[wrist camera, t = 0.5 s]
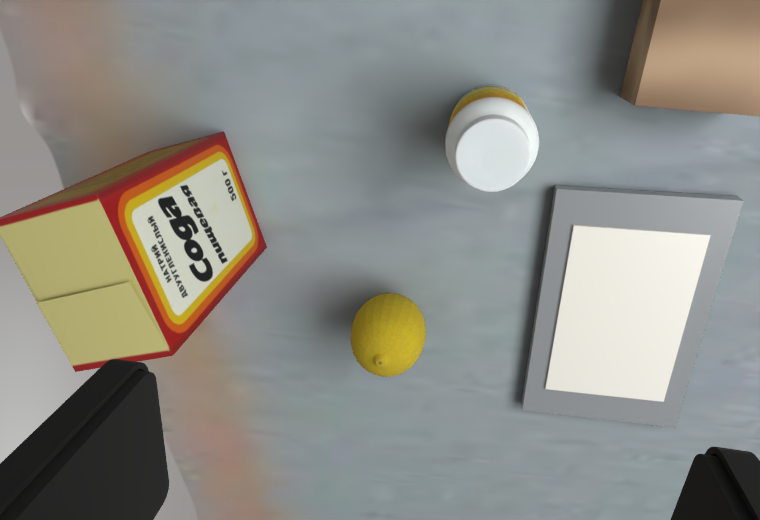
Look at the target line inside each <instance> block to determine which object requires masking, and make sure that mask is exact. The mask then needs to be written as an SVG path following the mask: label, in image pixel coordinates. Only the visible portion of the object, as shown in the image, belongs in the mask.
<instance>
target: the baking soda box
mask: <svg viewBox="0 0 760 520" xmlns="http://www.w3.org/2000/svg"><path fill="white" fill-rule="evenodd" d="M0 236H1V238H2V240H3V241H4V243H5V245H6V247H7V248H8V250H9V252H10V254H11V256H12V258H13V259H14V261H15V263H16V265H17V267H18V268H19V270H20V272H21V274H22V276H23V278H24V279H25V281H26V283H27V285H28V286H29V288H30V290H31V292H32V294H33V296H34V297H35V299H36V301H37V304H38V306H39V308H40V310H41V312H42V313H43V315H44V317H45V319H46V320H47V322H48V324H49V326H50V328H51V329H52V331H53V333H54V335H55V336H56V338H57V340H58V341H59V343H60V345H61V347H62V349H63V351H64V352H65V354H66V356H67V358H68V359H69V361H70V363H71V365H72V366H73V368H74V370H75V372H76V371H83V370H89V369H95V368H101V367H102V366H103V365H104V364H105V363H106V362H108V361H109V360H111V359H120V360H127V361H134V362H137V361H143V360H149V359H155V358H161V357H167V356H173V355H174V354H175V352H176V351H177V350H178V349H179V348H180V347H181V346H182V344H183V343H184V342H185V341H186V340H187V339H188V337H189V336H190V335H191V334H192V333H193V332H194V331H195V329H196V328H197V327H198V326H199V325H200V324H201V323H202V321H203V320H204V319H205V318H206V317H207V316H208V314H209V313H210V312H211V311H212V310H213V309H214V308H215V306H216V305H217V304H218V303H219V302H220V301H221V299H222V298H223V297H224V296H225V295H226V294H227V293H228V291H229V290H230V289H231V288H232V287H233V286H234V284H235V283H236V282H237V281H238V280H239V279H240V278H241V276H242V275H243V274H244V273H245V272H246V271H247V269H248V268H249V267H250V266H251V265H252V264H253V263H254V261H255V260H256V259H257V258H258V257H259V256H260V254H261V253H262V252H263V251H264V250H265V249H266V248H267V246H266V244H265V241H264V238H263V236H262V233H261V230H260V228H259V225H258V222H257V219H256V217H255V214H254V211H253V209H252V206H251V203H250V201H249V198H248V195H247V192H246V190H245V187H244V184H243V182H242V179H241V176H240V174H239V171H238V168H237V165H236V163H235V160H234V157H233V155H232V152H231V149H230V147H229V144H228V141H227V138H226V136H225V133H224V132H221V133H217V134H214V135H210V136H206V137H202V138H199V139H195V140H191V141H188V142H184V143H180V144H177V145H173V146H169V147H165V148H162V149H158V150H154V151H151V152H148V153H145V154H143V155H141V156H139V157H136V158H134V159H132V160H130V161H127V162H125V163H123V164H120V165H118V166H116V167H114V168H111V169H109V170H107V171H105V172H102V173H100V174H98V175H95V176H93V177H91V178H89V179H86V180H84V181H82V182H80V183H77V184H75V185H73V186H71V187H68V188H66V189H64V190H61V191H59V192H57V193H55V194H52V195H50V196H48V197H46V198H43V199H41V200H39V201H37V202H34V203H32V204H30V205H28V206H25V207H23V208H21V209H18V210H16V211H14V212H12V213H9V214H7V215H5V216H3V217H0Z"/></svg>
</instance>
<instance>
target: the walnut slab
mask: <svg viewBox="0 0 760 520" xmlns="http://www.w3.org/2000/svg"><path fill="white" fill-rule="evenodd" d="M620 97H621V98H623V99H625V100H626V101H628V102H630V103H631V104H633V105H635V106H646V107H657V108H669V109H681V110H692V111H704V112H716V113H727V114H739V115H751V116H760V0H643V1H642V6H641V10H640V14H639V19H638V23H637V27H636V31H635V36H634V40H633V44H632V48H631V53H630V57H629V61H628V65H627V70H626V74H625V78H624V82H623V87H622V91H621V95H620Z"/></svg>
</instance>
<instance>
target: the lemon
mask: <svg viewBox="0 0 760 520" xmlns="http://www.w3.org/2000/svg"><path fill="white" fill-rule="evenodd" d="M425 337H426V327H425V322H424V318H423V315H422V313H421V312H420V310H419V308H418V307H417V306H416V305H415V304H414V303H413V302H412V301H411V300H410V299H408V298H406V297H405V296H402V295H399V294H393V293H386V294H380V295H377V296H375V297H373V298H371V299H370V300H368V301H367V302H366V303H364V304H363V306H362V307H361V308H360V310H359V311H358V312H357V314H356V316H355V319H354V321H353V324H352V328H351V345H352V350H353V353H354V356H355V357H356V359H357V361H358V362H359V363H360V365H361V366H362V367H363V368H364V369H366V370H367V371H368V372H370V373H373V374H375V375H379V376H394V375H398V374H401V373H403V372H405V371H406V370H407V369H409V368H410V367H411V366H412V365H413V364H414V363H415V361H416V360H417V358H418V357H419V355H420V354H421V352H422V349H423V346H424V342H425Z"/></svg>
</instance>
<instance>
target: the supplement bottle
mask: <svg viewBox="0 0 760 520" xmlns="http://www.w3.org/2000/svg"><path fill="white" fill-rule="evenodd" d="M538 148H539V136H538V131H537V127H536V125H535V122H534V120H533V119H532V117H531V115H530V113H529V111H528V109H527V107H526V105H525V103H524V102H523V100H522V99H521V98H520V97H519V96H518V95H517V94H516V93H514V92H513V91H511V90H509V89H507V88H504V87H501V86H495V85H487V86H481V87H478V88H475V89H473V90H471V91H469V92H468V93H467V94H465V95H464V96H463V97H462V98H461V99H460V100H459V101H458V103H457V104H456V106H455V108H454V110H453V112H452V115H451V119H450V122H449V126H448V130H447V133H446V139H445V150H446V156H447V159H448V162H449V164H450V166H451V168H452V170H453V171H454V173H455V174H456V175H457V176H458V177H459V178H460V179H461V180H462V181H464V182H465V183H467V184H469V185H470V186H472V187H474V188H476V189H478V190H481V191H487V192H496V191H501V190H504V189H507V188H509V187H511V186H513V185H514V184H515V183H517V182H518V181H519V180H520V179H521V178H522V177H523V176H524V175H525V174H526V173H527V172H528V171H529V170H530V168H531V167H532V165H533V163H534V161H535V159H536V156H537V153H538Z"/></svg>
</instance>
